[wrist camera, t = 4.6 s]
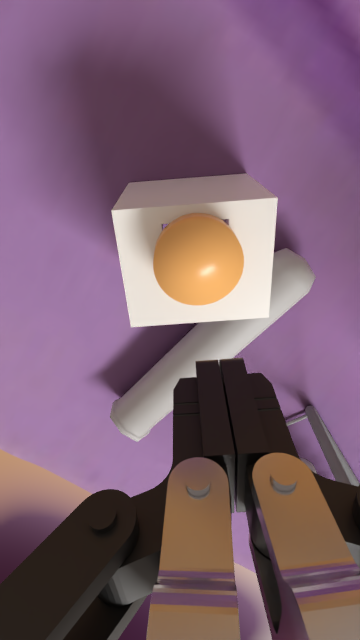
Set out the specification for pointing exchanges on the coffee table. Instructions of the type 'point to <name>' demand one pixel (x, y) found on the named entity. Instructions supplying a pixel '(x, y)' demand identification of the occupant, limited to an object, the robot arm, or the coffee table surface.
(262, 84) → the coffee table surface
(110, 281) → the coffee table surface
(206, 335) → the tube
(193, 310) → the housing
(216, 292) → the orange rounded lump
